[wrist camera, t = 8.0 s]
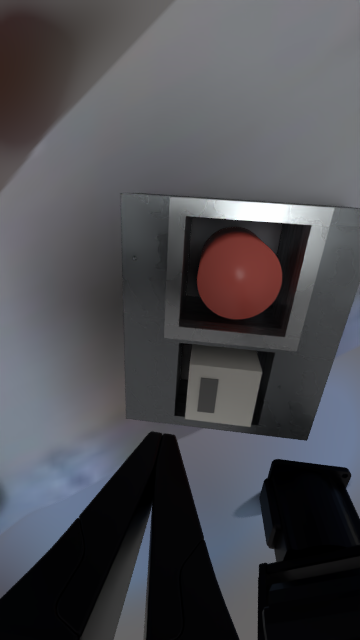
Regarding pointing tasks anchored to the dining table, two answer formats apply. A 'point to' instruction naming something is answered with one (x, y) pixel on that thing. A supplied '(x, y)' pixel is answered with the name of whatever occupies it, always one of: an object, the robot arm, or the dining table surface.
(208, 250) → the button
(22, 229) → the dining table surface
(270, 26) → the dining table surface
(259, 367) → the on key
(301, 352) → the grey flat box
